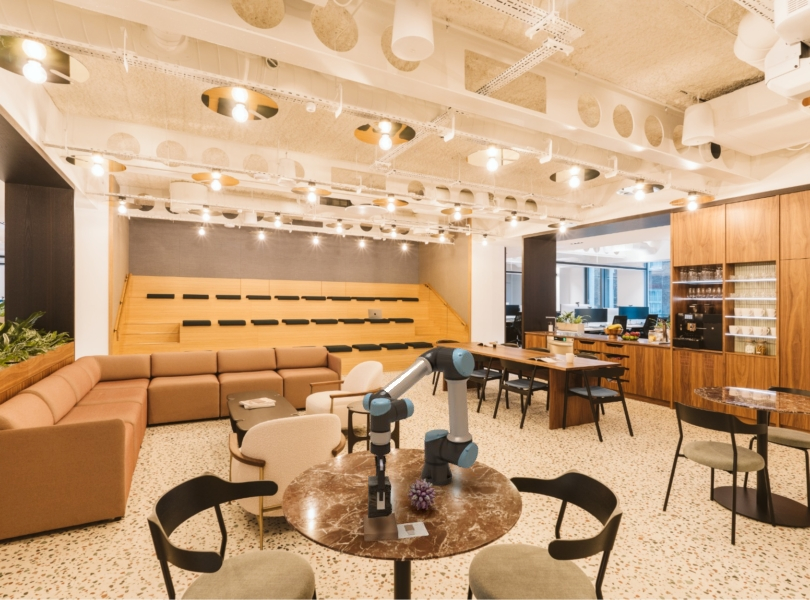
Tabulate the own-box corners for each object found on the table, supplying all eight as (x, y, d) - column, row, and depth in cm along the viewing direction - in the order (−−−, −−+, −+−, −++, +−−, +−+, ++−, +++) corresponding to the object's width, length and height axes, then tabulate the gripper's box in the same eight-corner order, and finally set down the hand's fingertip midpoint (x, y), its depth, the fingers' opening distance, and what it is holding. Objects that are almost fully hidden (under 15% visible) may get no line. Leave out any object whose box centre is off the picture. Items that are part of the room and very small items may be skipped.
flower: (439, 515, 163) (439, 485, 163) (409, 517, 161) (410, 487, 161) (432, 500, 175) (432, 472, 175) (405, 503, 173) (405, 474, 173)
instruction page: (422, 522, 158) (422, 521, 158) (428, 535, 149) (428, 534, 149) (391, 525, 155) (391, 524, 155) (396, 539, 147) (396, 538, 147)
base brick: (394, 520, 159) (394, 512, 159) (398, 540, 146) (398, 532, 146) (363, 522, 158) (363, 514, 157) (364, 542, 145) (364, 534, 145)
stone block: (391, 518, 152) (391, 508, 157) (392, 484, 148) (392, 474, 153) (367, 519, 151) (367, 508, 156) (368, 485, 147) (368, 475, 153)
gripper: (369, 433, 161) (368, 491, 161) (371, 451, 141) (371, 518, 142) (388, 432, 162) (388, 490, 162) (393, 450, 142) (392, 517, 143)
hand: (380, 503), depth 152 cm, fingers closed on stone block, 6 cm apart
